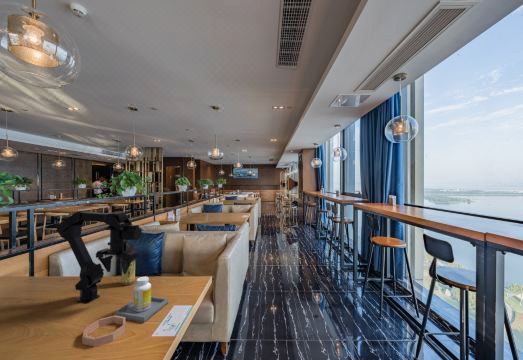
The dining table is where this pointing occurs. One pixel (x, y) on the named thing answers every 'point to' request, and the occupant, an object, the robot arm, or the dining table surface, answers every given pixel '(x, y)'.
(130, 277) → the sauce bottle
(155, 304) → the tray
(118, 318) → the holder ring
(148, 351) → the dining table surface
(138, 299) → the supplement bottle
